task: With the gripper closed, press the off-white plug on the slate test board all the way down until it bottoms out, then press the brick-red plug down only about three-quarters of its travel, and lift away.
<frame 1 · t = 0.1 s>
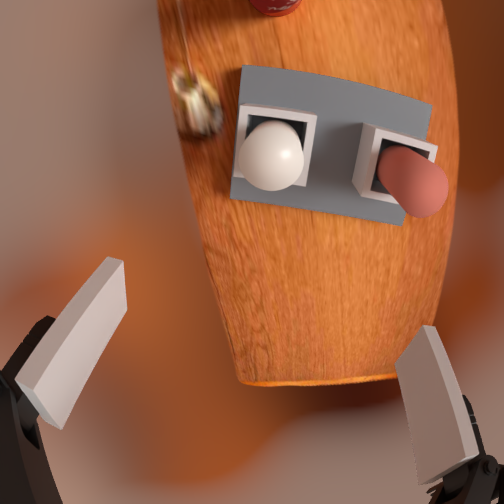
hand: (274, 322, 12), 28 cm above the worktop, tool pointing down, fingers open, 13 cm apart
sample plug: (272, 151, 25), point 10 cm above the worktop, slide at 0.0 cm
test board: (329, 142, 34), on the worktop
red plug: (409, 177, 25), point 11 cm above the worktop, slide at 0.0 cm
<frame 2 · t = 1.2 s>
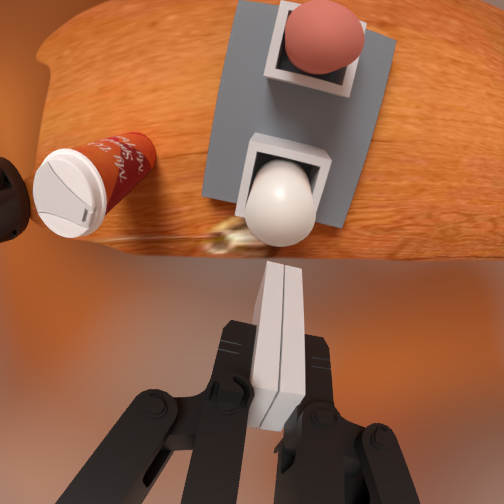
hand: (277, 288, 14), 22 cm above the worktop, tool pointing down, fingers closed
coffee cup: (134, 154, 34), on the worktop
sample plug: (281, 198, 24), point 10 cm above the worktop, slide at 0.0 cm
test board: (295, 111, 30), on the worktop
red plug: (319, 41, 17), point 10 cm above the worktop, slide at 0.0 cm
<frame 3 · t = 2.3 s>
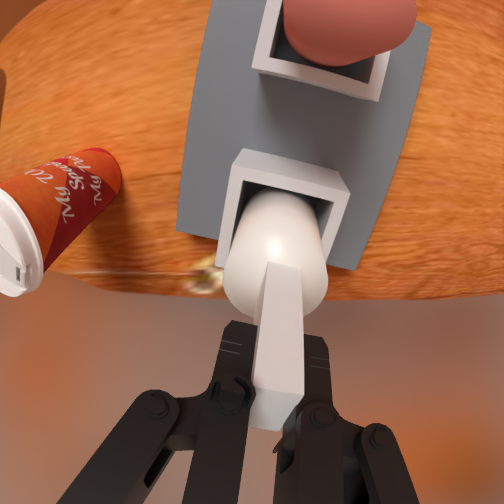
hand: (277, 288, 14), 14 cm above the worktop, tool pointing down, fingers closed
coffee cup: (97, 175, 27), on the worktop
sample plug: (277, 247, 17), point 10 cm above the worktop, slide at 0.5 cm, touching gripper
test board: (298, 117, 22), on the worktop
red plug: (337, 15, 10), point 11 cm above the worktop, slide at 0.0 cm
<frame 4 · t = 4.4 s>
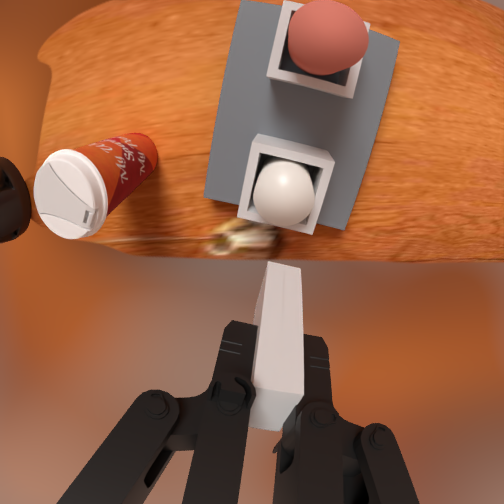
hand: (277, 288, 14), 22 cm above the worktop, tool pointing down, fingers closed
coffee cup: (136, 155, 34), on the worktop
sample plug: (284, 185, 27), point 7 cm above the worktop, slide at 3.9 cm
test board: (298, 112, 30), on the worktop
red plug: (323, 42, 17), point 11 cm above the worktop, slide at 0.0 cm
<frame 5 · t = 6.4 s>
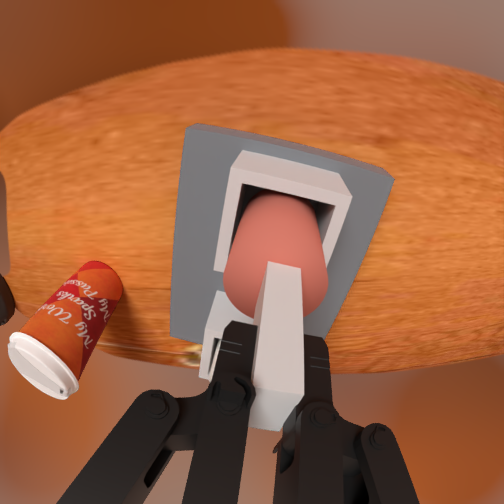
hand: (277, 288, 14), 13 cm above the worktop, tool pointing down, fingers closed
coffee cup: (102, 280, 33), on the worktop
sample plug: (243, 352, 26), point 7 cm above the worktop, slide at 3.9 cm
test board: (264, 255, 29), on the worktop
red plug: (277, 248, 17), point 10 cm above the worktop, slide at 1.0 cm, touching gripper
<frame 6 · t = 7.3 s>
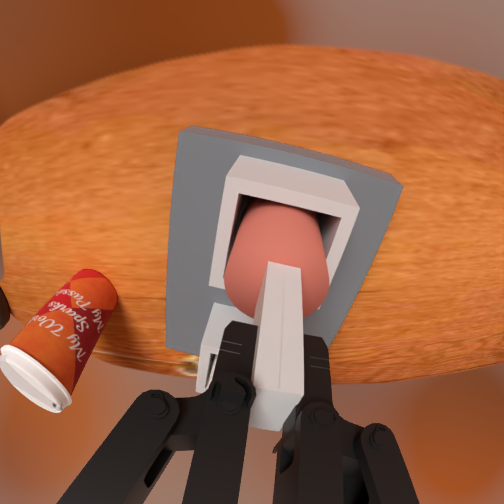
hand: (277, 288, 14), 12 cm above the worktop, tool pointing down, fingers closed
coffee cup: (96, 288, 32), on the worktop
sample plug: (241, 367, 25), point 7 cm above the worktop, slide at 3.9 cm
test board: (263, 265, 27), on the worktop
red plug: (278, 248, 17), point 8 cm above the worktop, slide at 2.7 cm, touching gripper
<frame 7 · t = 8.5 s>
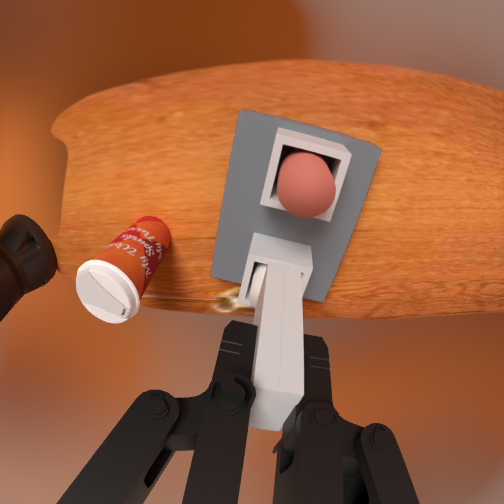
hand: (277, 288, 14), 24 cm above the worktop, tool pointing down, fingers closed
coffee cup: (152, 233, 42), on the worktop
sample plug: (274, 279, 36), point 7 cm above the worktop, slide at 3.9 cm
test board: (288, 208, 38), on the worktop
red plug: (304, 178, 28), point 8 cm above the worktop, slide at 2.7 cm
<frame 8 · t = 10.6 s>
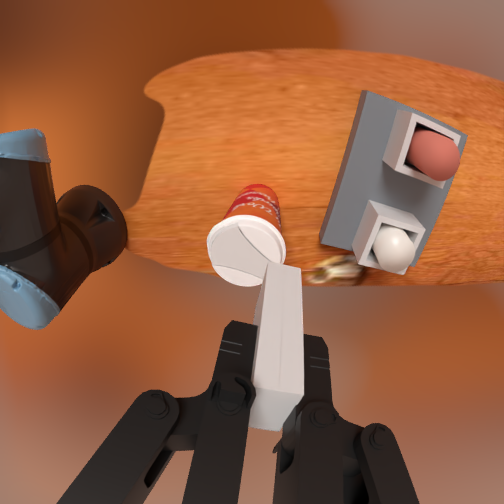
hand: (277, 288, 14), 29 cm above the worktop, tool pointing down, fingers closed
coffee cup: (257, 202, 43), on the worktop
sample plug: (389, 241, 37), point 7 cm above the worktop, slide at 3.9 cm
test board: (391, 181, 39), on the worktop
red plug: (428, 151, 29), point 8 cm above the worktop, slide at 2.7 cm
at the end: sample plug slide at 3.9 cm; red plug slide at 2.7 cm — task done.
